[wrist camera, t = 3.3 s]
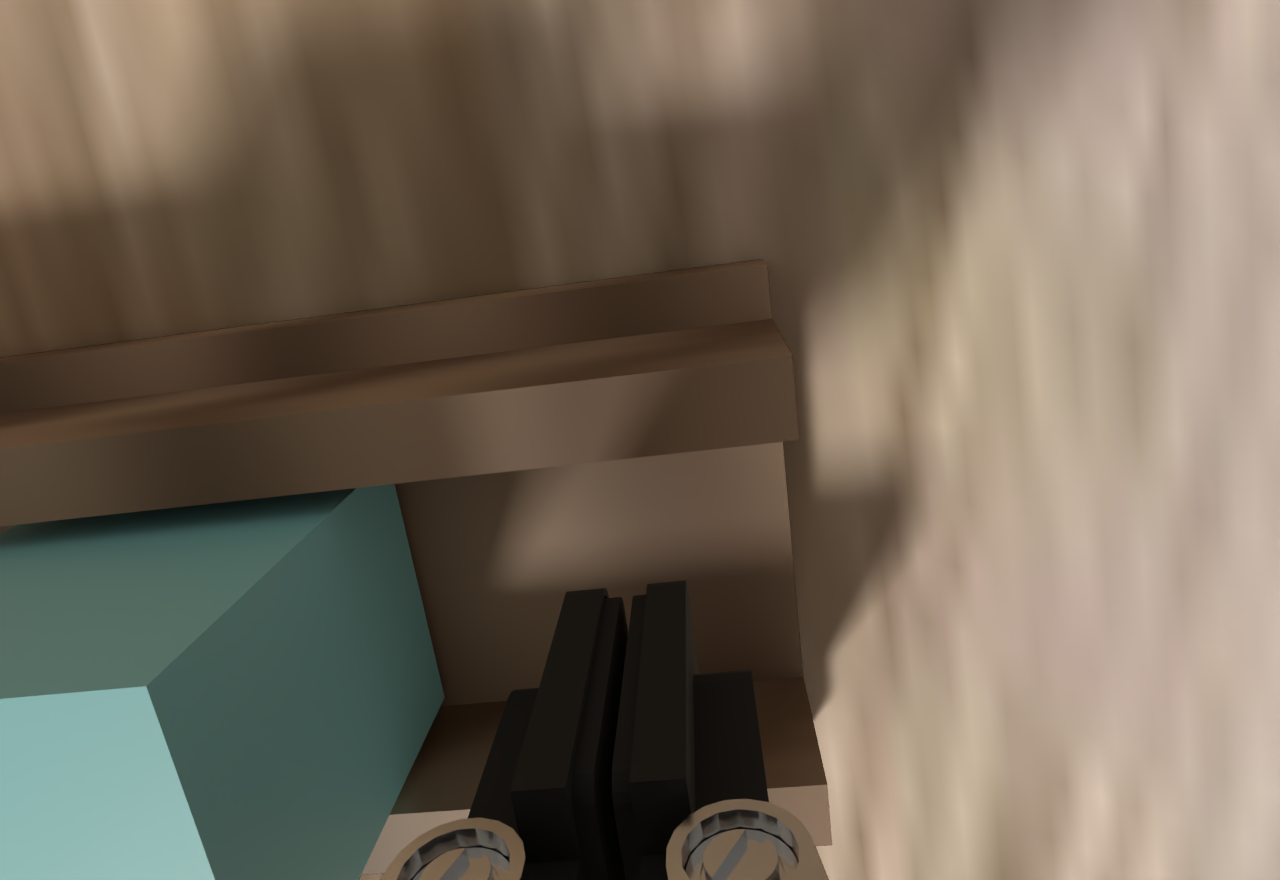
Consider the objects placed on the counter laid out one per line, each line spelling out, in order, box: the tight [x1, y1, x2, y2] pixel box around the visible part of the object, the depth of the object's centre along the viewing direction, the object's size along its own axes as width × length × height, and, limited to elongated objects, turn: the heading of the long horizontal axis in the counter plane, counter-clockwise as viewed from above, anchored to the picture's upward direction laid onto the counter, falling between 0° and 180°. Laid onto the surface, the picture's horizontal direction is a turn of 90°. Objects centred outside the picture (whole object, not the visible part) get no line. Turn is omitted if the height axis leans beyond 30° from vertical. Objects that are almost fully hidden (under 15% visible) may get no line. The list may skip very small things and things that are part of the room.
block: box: [0, 484, 445, 880], centre depth 13 cm, size 6×5×7 cm
